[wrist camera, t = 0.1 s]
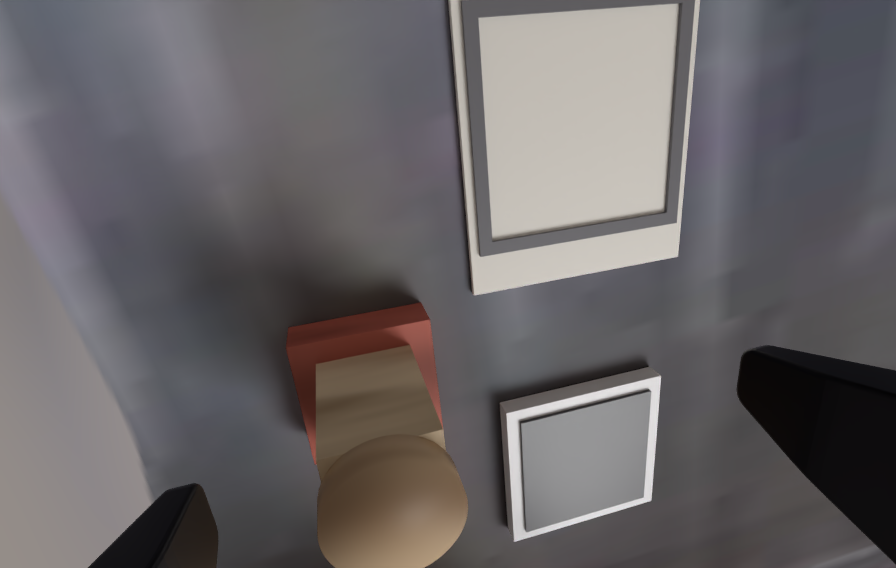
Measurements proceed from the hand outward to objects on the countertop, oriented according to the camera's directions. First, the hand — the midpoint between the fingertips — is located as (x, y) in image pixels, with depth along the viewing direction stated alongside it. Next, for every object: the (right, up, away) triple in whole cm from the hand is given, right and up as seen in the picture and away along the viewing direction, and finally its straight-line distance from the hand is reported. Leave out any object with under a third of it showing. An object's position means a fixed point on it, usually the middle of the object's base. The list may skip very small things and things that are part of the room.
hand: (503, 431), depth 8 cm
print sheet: (+5, +9, +14) cm, 17 cm away
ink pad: (+7, -7, +20) cm, 23 cm away
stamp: (-5, -2, +15) cm, 16 cm away
